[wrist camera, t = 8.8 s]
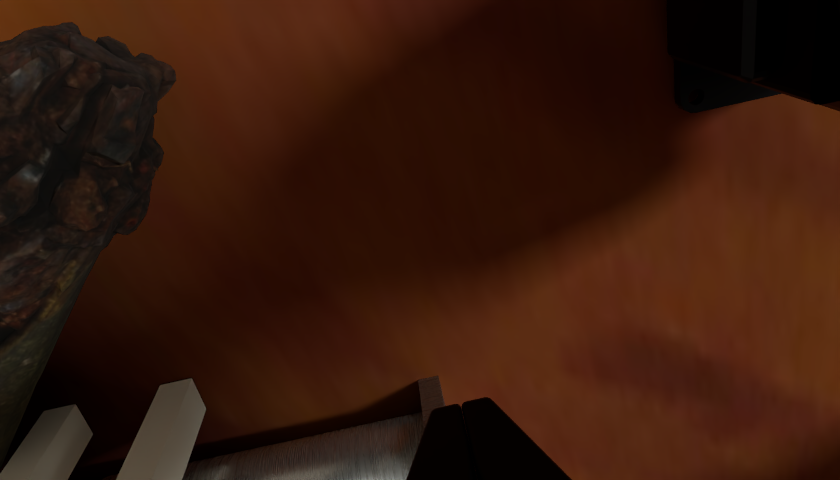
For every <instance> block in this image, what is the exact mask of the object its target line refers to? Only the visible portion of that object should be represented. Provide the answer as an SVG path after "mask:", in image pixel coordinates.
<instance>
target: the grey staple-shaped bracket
mask: <svg viewBox="0 0 840 480" xmlns="http://www.w3.org/2000/svg"><path fill="white" fill-rule="evenodd" d="M205 411H206V407H205V405H204V403H203V401H202V399H201V397H200V394H199V392H198V390H197V388H196V386H195V384H194V382H193V379H192V378H190V379H186V380H181V381H177V382H172V383H168V384H163V385H160V386H159V389H158V391H157V393H156V395H155V397H154V399H153V401H152V404H151V406H150V408H149V410H148V412H147V414H146V416H145V419H144V421H143V423H142V425H141V427H140V429H139V431H138V434H137V436H136V438H135V440H134V442H133V444H132V446H131V449H130V451H129V453H128V455H127V457H126V459H125V461H124V463H123V466H122V468H121V470H120V472H119V474H118V476H117V478H116V480H182V479H183V476H184V473H185V470H186V467H187V464H188V461H189V458H190V455H191V452H192V449H193V446H194V443H195V441H196V438H197V435H198V432H199V429H200V426H201V423H202V420H203V417H204V414H205ZM92 435H93V433H92V431H91V429H90V428H89V426H88V424H87V423H86V421H85V419H84V417H83V416H82V414H81V412H80V411H79V409H78V407H77V406H76V404H73V405H68V406H64V407H59V408H55V409H50V410H46V411H43V413H42V414H41V416H40V417H39V419H38V420H37V422H36V423H35V424H34V426H33V427H32V429H31V430H30V432H29V433H28V434H27V436H26V437H25V439H24V440H23V442H22V443H21V445H20V446H19V447H18V449H17V450H16V452H15V453H14V455H13V456H12V457H11V459H10V460H9V462H8V463H7V465H6V466H5V467H4V469H3V470H2V472H1V473H0V480H68V478H69V476H70V475H71V473H72V471H73V469H74V467H75V466H76V464H77V462H78V460H79V459H80V457H81V455H82V453H83V451H84V450H85V448H86V446H87V444H88V442H89V441H90V439H91V437H92Z"/></svg>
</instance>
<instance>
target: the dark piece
mask: <svg viewBox="0 0 840 480" xmlns="http://www.w3.org/2000/svg"><path fill="white" fill-rule="evenodd" d="M175 81H176V75H175V71H174V69H173V68H172V67H171V66H170V65H168V64H166V63H164V62H162V61H157V60H156V59H154V58H153V57H152V56H151V55H147V54H144V53H140V54H139V55H138V56H136V57H134V56H133V55H131V53H130V51H129V50H128V48H127V46H126V45H125V44H123V43H121V42H119V41H117V40H115V39H113V38H111V37H109V36H107V37H101V38H99V37H98V39H97V41H96V42H95V41H93V40H91V39H89V38H87V37H84V36H82V35H81V33H80V30H79V28H78V26H77V25H75V24H74V23H72V22H70V23H62V24H60V25H56V26H42V27H38V28H34V29H31V30H27V31H24V32H22V33H21V34H19V35H18V36H16V37H15V38H13V39H11V40H8V41H3V42H0V469H1V467H2V464H3V462H4V459H5V457H6V454H7V452H8V449H9V447H10V444H11V442H12V440H13V438H14V436H15V433H16V431H17V429H18V426H19V424H20V422H21V419H22V417H23V414H24V412H25V410H26V408H27V405H28V403H29V401H30V398H31V396H32V394H33V391H34V389H35V386H36V384H37V382H38V380H39V378H40V376H41V375H42V373H43V371H44V369H45V366H46V364H47V362H48V360H49V357H50V355H51V353H52V351H53V349H54V346H55V344H56V342H57V340H58V338H59V335H60V333H61V331H62V329H63V327H64V325H65V323H66V321H67V319H68V317H69V314H70V312H71V310H72V308H73V306H74V304H75V302H76V300H77V297H78V295H79V293H80V291H81V289H82V287H83V284H84V282H85V280H86V278H87V276H88V275H89V273H90V271H91V269H92V267H93V265H94V263H95V261H96V259H97V257H98V255H99V254H100V252H101V251H102V250H103V249H104V248H105V247H107V246H108V244H109V243H110V241H111V239H112V238H113V236H114V235H115V234H117V233H119V234H123V235H128V234H130V233H131V232H133V231H135V230H136V229H137V227H138V226H139V224H140V223H141V221H142V220H143V218H144V217H145V215H146V213H147V210H148V206H149V202H150V196H149V195H150V191H151V186H152V179H153V178H154V176H155V173H154V172H155V171H156V170H158V167H159V166H160V165H161V162H162V158H163V154H164V152H163V150H162V148H161V147H160V145H159V144H158V143H157V142H156V140H155V139H154V138H152V136H153V129H154V117H153V115H154V114H155V113H157V102H158V101H159V100H160V99H161V98H162V97H163V96H164V95H165V94H166V93H167V92H168V91H169V90H170V88H171V87H172V85H173V84H174V83H175Z"/></svg>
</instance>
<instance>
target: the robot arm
mask: <svg viewBox="0 0 840 480" xmlns="http://www.w3.org/2000/svg"><path fill="white" fill-rule="evenodd" d="M667 45H668V54H669V55H670V56H672V57H673V58H674V92H675V102H676V104H677V105H678V107H679V108H681V109H683V110H685V111H688V112H690V113H697V112H701V111H706V110H710V109H715V108H719V107H724V106H728V105H733V104H737V103H742V102H746V101H751V100H755V99H759V98H764V97H768V96H773V95H777V94H782V93H783V94H786V95H789V96H792V97H795V98H798V99H801V100H804V101H807V102H810V103H813V104H819V105H822V106H825V107H828V108H831V109H834V110H837V111H840V0H667ZM695 89H697V90H698V95H697V97H696V99H695V100H694V101H692V102H689V100H688V98H689V94H690V93H691V92H692V91H693V90H695ZM462 412H463V414H462ZM463 417H464V418H463ZM464 421H465V422H464ZM465 426H466V427H465ZM466 430H467V431H466ZM467 435H468V436H467ZM468 439H469V440H468ZM469 444H470V445H469ZM470 448H471V449H470ZM471 453H472V454H471ZM472 457H473V458H472ZM474 466H475V467H474ZM476 475H477V476H476ZM406 480H571V479H570V478H569V477H568V476H567V475H566V474H565V473H564V471H563V470H562V469H561V468H560V467H559V466H558V465H557V464H556V463H555V462H554V461H553V460H552V459H551V458H550V457H549V456H548V455H547V454H546V453H545V452H544V451H543V450H542V449H541V448H540V447H539V446H538V445H537V444H536V443H535V442H534V441H533V440H532V439H531V438H530V437H529V436H528V435H527V434H526V433H525V432H524V431H523V430H522V429H521V428H520V427H519V426H518V425H517V424H516V423H515V422H514V421H513V420H512V419H511V418H510V417H509V416H508V415H507V414H506V413H505V412H504V411H503V410H502V409H501V408H500V407H499V406H498V405H497V404H496V403H495V402H494V401H493V400H491V399H490V398H488V397H484V398H480V399H475V400H471V401H466V402H464V403H463V404H462V409H461V406H460V405H458V404H453V405H448V406H444V407H439V408H435V409H433V410H432V411H431V413H430V416H429V418H428V421H427V424H426V426H425V429H424V432H423V435H422V437H421V440H420V443H419V446H418V448H417V451H416V454H415V457H414V459H413V462H412V465H411V468H410V470H409V473H408V476H407V479H406Z"/></svg>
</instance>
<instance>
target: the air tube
mask: <svg viewBox="0 0 840 480" xmlns="http://www.w3.org/2000/svg"><path fill="white" fill-rule="evenodd" d="M418 384H419V391H420V399H421V406H422V412H419V413H415V414H410V415H406V416H401V417H396V418H392V419H387V420H383V421H378V422H374V423H369V424H364V425H360V426H355V427H351V428H346V429H341V430H337V431H332V432H328V433H323V434H319V435H314V436H309V437H305V438H300V439H296V440H291V441H286V442H282V443H277V444H273V445H268V446H263V447H259V448H254V449H250V450H245V451H241V452H236V453H231V454H227V455H222V456H218V457H213V458H208V459H204V460H199V461H195V462H190V463H188V464H187V467H186V470H185V473H184V476H183V479H182V480H406V479H407V476H408V473H409V470H410V468H411V465H412V462H413V459H414V457H415V454H416V451H417V448H418V446H419V443H420V440H421V437H422V435H423V432H424V429H425V426H426V424H427V421H428V418H429V416H430V413H431V411H432V410H433V409H435V408H439V407H444V406H445V402H444V398H443V394H442V389H441V385H440V381H439V376H434V377H429V378H425V379H420V380H418ZM117 476H118V474H116V475H111V476H108V477H106V478H104V479H103V480H116V478H117Z"/></svg>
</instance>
